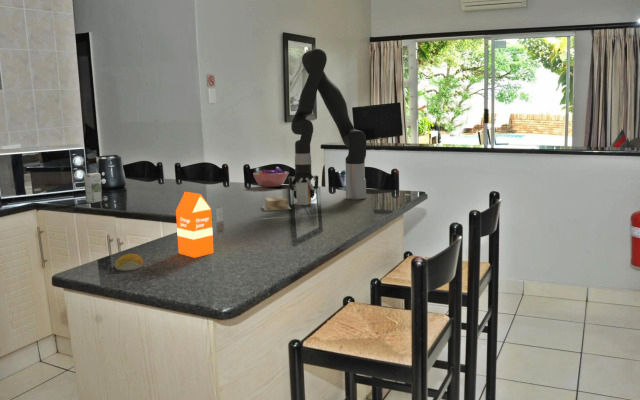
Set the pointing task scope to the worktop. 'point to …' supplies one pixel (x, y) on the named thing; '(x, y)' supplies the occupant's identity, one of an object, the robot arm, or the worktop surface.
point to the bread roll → (129, 262)
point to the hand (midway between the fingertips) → (303, 198)
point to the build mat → (277, 209)
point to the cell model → (270, 177)
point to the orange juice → (194, 226)
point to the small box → (303, 193)
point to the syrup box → (93, 187)
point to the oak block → (276, 203)
